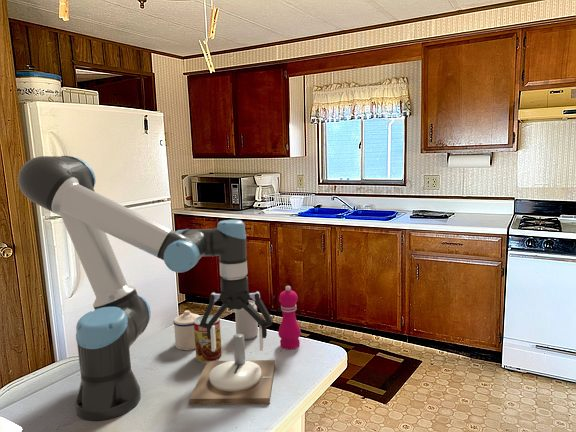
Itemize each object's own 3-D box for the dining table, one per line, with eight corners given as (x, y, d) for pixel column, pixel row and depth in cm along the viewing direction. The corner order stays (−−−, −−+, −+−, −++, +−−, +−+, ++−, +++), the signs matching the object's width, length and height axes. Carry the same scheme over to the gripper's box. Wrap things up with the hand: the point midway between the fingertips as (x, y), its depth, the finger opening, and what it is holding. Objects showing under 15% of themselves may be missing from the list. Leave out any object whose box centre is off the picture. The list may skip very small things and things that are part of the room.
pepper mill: (299, 351, 134) (297, 289, 131) (276, 349, 135) (274, 289, 133) (302, 341, 141) (301, 282, 138) (281, 340, 142) (279, 282, 140)
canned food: (204, 365, 127) (201, 326, 125) (191, 356, 133) (188, 319, 131) (226, 356, 132) (224, 319, 130) (213, 348, 138) (211, 313, 136)
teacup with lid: (204, 348, 138) (202, 314, 137) (175, 352, 136) (172, 317, 134) (201, 334, 150) (199, 302, 148) (174, 338, 147) (172, 305, 146)
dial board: (190, 404, 107) (189, 398, 106) (207, 365, 126) (207, 360, 126) (269, 403, 106) (269, 397, 106) (275, 364, 126) (274, 359, 125)
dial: (256, 392, 108) (254, 357, 107) (202, 390, 110) (200, 355, 108) (265, 365, 122) (264, 334, 121) (217, 364, 124) (215, 333, 122)
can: (249, 342, 142) (247, 307, 140) (231, 337, 146) (230, 304, 144) (262, 334, 148) (261, 300, 146) (245, 330, 152) (243, 297, 150)
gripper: (279, 271, 121) (282, 342, 124) (192, 273, 122) (197, 343, 125) (278, 279, 113) (281, 354, 116) (185, 280, 114) (190, 355, 117)
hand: (237, 349), depth 121 cm, fingers open, 13 cm apart
